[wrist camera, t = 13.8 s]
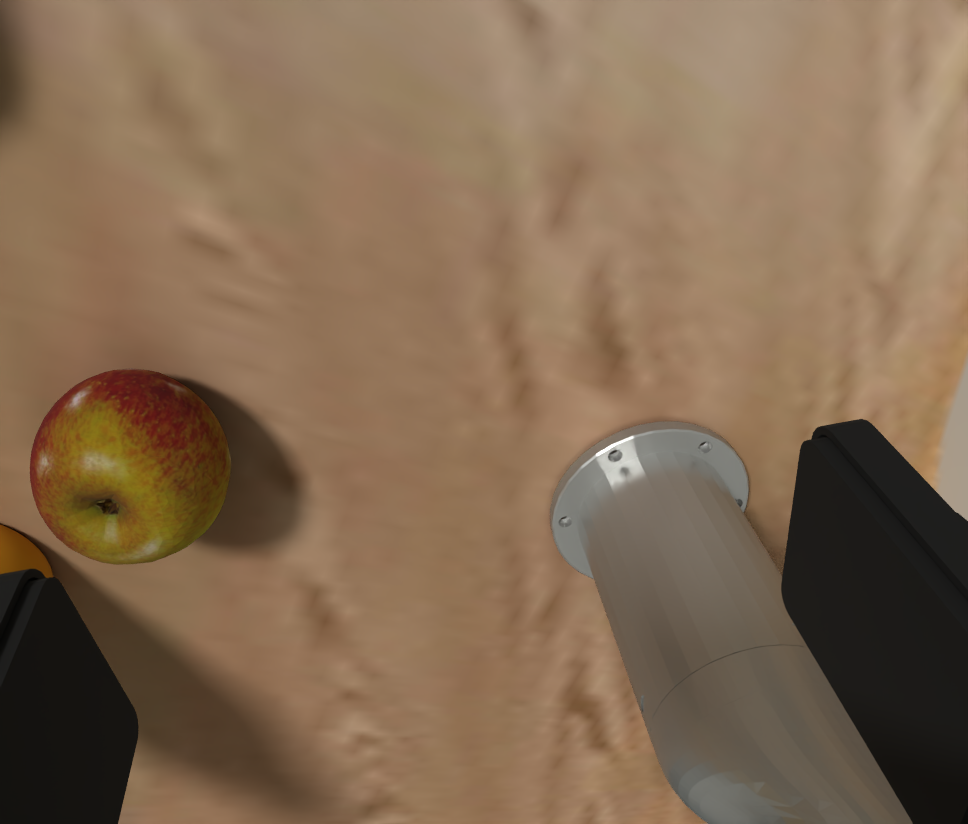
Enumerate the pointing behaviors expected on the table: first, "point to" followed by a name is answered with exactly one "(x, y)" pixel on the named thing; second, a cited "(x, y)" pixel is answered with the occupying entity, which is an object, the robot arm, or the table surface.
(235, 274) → the table surface
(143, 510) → the fruit
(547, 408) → the table surface
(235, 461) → the table surface
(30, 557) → the beer bottle
